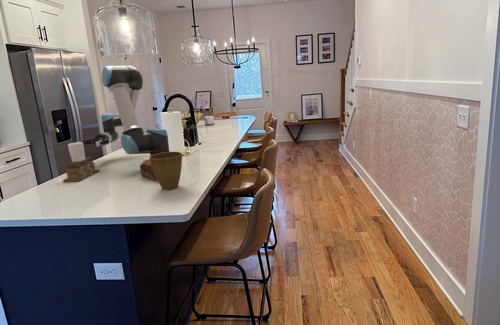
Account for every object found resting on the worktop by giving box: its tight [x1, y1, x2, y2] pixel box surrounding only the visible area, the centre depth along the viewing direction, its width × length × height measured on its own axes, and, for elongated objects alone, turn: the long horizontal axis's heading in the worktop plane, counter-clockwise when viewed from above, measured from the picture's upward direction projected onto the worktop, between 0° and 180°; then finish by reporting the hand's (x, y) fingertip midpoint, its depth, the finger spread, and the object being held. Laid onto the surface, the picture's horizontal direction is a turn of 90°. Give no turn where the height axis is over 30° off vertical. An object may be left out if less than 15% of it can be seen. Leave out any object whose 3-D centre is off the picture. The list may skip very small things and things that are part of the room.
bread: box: [139, 158, 158, 182], centre depth 178 cm, size 19×11×10 cm, turn 43°
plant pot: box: [148, 151, 183, 191], centre depth 156 cm, size 15×15×16 cm
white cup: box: [67, 142, 86, 163], centre depth 188 cm, size 8×8×10 cm
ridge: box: [62, 156, 100, 183], centre depth 191 cm, size 22×9×10 cm, turn 176°
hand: (85, 144), depth 196 cm, fingers open, 13 cm apart
